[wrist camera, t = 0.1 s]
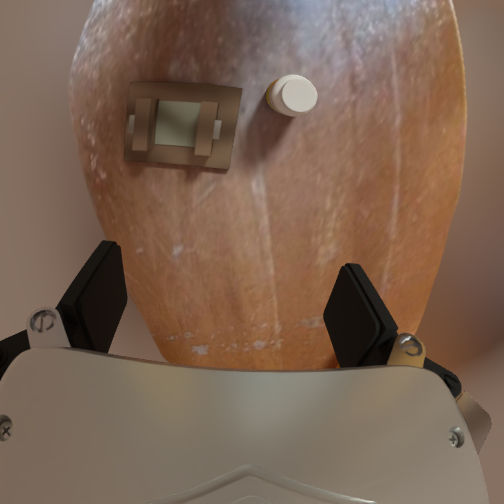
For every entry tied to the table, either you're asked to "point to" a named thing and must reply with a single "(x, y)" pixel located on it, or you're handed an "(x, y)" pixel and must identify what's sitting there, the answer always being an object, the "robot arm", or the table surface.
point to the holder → (181, 123)
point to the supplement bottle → (291, 95)
